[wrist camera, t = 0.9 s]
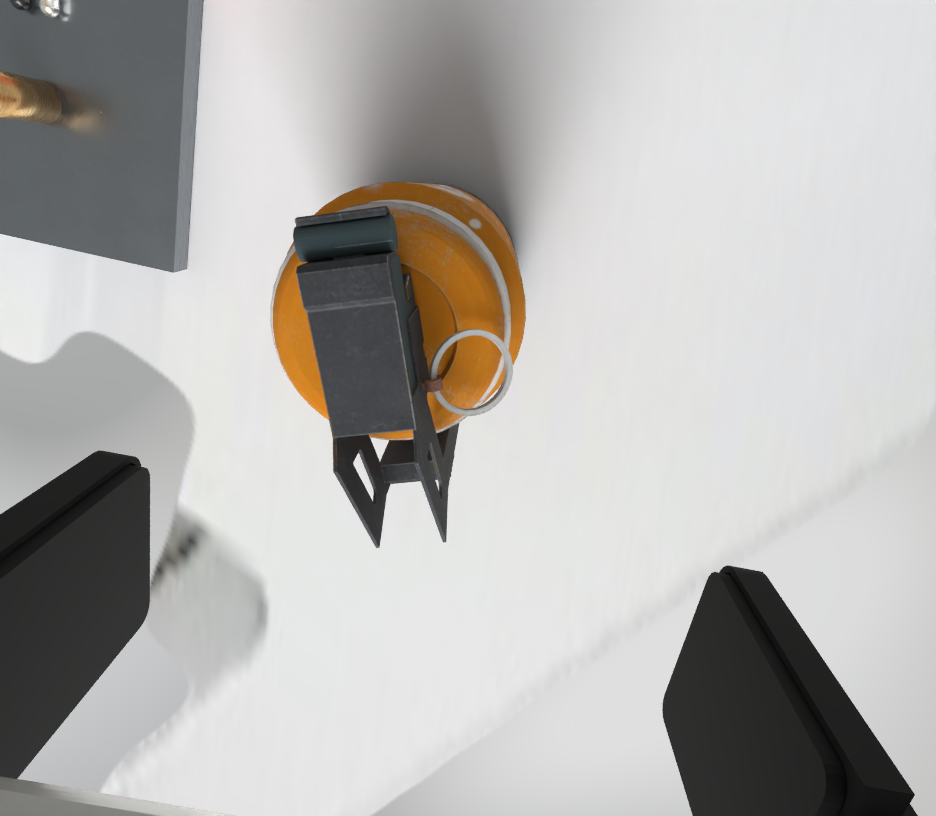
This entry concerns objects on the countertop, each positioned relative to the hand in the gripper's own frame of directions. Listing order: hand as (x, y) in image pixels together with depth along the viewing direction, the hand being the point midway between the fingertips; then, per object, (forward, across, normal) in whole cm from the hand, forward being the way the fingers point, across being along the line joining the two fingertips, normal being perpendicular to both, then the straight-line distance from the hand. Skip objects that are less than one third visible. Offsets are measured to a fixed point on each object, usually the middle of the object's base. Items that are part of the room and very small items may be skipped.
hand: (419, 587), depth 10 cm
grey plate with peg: (+26, +23, -6) cm, 35 cm away
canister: (+26, +2, 0) cm, 26 cm away
